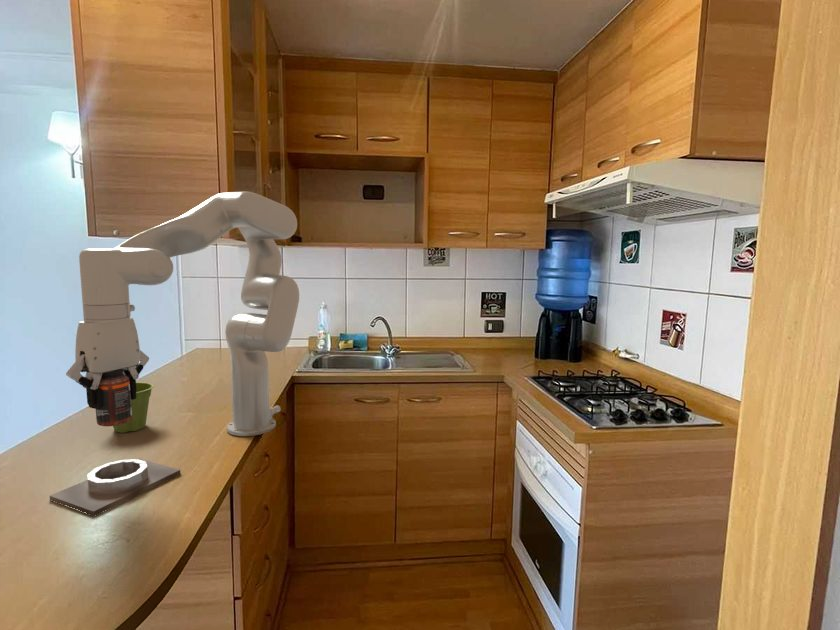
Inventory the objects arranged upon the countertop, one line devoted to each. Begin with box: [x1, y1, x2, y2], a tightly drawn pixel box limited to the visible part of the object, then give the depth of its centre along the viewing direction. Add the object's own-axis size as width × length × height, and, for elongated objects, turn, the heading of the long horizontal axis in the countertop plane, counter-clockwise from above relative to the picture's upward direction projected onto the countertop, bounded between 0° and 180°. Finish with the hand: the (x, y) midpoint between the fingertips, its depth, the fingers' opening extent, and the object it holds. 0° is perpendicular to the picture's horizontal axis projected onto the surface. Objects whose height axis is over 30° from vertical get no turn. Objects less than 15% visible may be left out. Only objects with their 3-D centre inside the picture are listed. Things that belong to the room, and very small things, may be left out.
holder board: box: [49, 458, 181, 517], centre depth 94 cm, size 18×13×1 cm
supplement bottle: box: [95, 369, 132, 427], centre depth 91 cm, size 6×6×11 cm
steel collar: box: [86, 458, 148, 495], centre depth 94 cm, size 10×10×2 cm
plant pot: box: [112, 381, 155, 434], centre depth 124 cm, size 12×12×11 cm
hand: (113, 402), depth 92 cm, fingers closed on supplement bottle, 6 cm apart
